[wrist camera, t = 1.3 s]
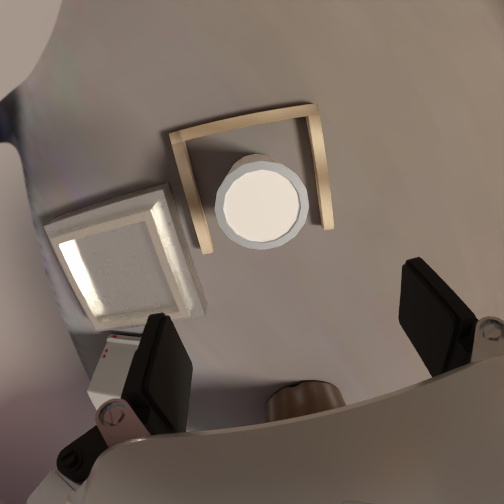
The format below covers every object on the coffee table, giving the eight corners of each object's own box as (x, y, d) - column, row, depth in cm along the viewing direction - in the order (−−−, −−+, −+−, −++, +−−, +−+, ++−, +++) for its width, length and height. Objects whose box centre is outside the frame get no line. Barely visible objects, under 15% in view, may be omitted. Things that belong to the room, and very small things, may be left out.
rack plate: (54, 217, 28) (37, 231, 25) (168, 182, 28) (159, 193, 24) (102, 318, 35) (92, 338, 32) (206, 302, 34) (204, 323, 31)
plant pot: (371, 373, 42) (405, 461, 28) (328, 427, 49) (345, 502, 35) (271, 365, 39) (284, 473, 25) (242, 423, 46) (245, 508, 32)
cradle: (171, 132, 26) (168, 133, 25) (314, 103, 25) (317, 103, 24) (204, 249, 31) (202, 254, 30) (330, 223, 30) (334, 228, 29)
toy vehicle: (130, 405, 44) (119, 455, 35) (104, 327, 36) (79, 385, 27) (181, 411, 45) (175, 463, 36) (169, 334, 36) (154, 398, 28)
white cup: (234, 136, 26) (233, 146, 20) (304, 163, 28) (324, 182, 21) (209, 204, 29) (202, 234, 23) (276, 226, 30) (286, 261, 24)
